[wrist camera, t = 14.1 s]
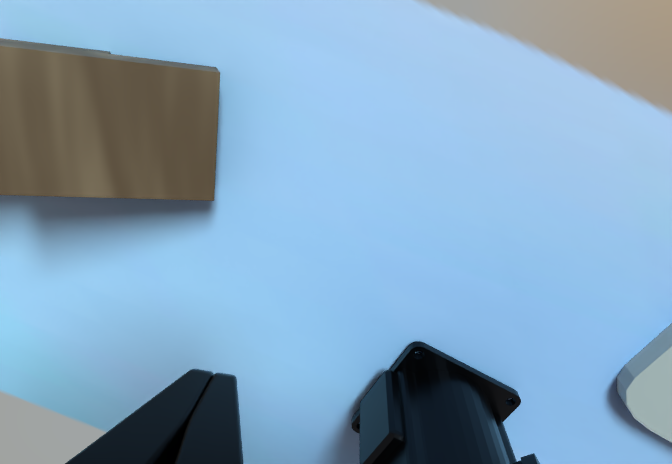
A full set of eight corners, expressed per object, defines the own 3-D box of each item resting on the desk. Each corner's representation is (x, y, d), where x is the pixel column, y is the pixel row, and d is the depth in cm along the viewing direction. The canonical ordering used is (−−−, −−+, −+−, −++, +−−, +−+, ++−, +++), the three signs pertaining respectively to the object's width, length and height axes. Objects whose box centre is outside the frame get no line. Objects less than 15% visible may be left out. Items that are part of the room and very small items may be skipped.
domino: (219, 72, 17) (-52, 39, 14) (214, 200, 19) (-24, 194, 16) (216, 67, 18) (-32, 36, 15) (211, 187, 20) (-9, 178, 17)
